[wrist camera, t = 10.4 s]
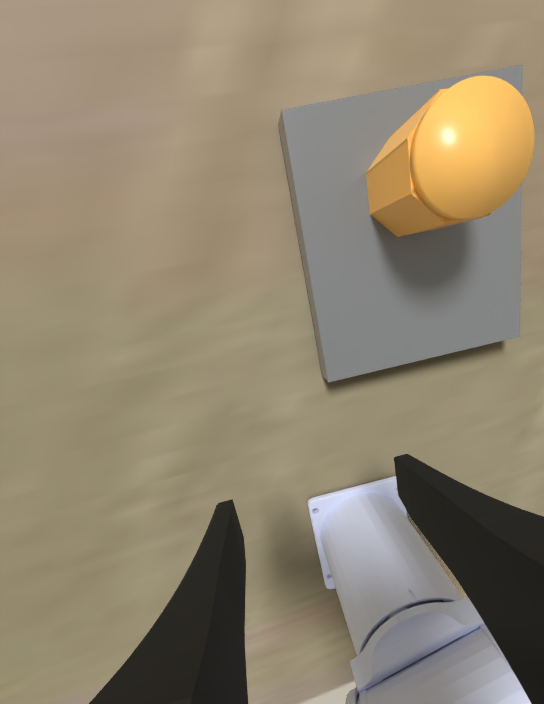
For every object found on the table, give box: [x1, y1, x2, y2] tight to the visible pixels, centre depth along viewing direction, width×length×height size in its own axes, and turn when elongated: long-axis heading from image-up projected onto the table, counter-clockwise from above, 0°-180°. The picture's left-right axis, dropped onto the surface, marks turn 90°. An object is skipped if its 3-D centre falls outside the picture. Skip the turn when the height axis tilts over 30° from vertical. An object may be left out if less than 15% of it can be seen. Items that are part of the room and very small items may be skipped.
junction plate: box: [278, 65, 523, 382], centre depth 18 cm, size 16×14×4 cm
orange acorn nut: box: [366, 76, 534, 237], centre depth 15 cm, size 5×5×5 cm
